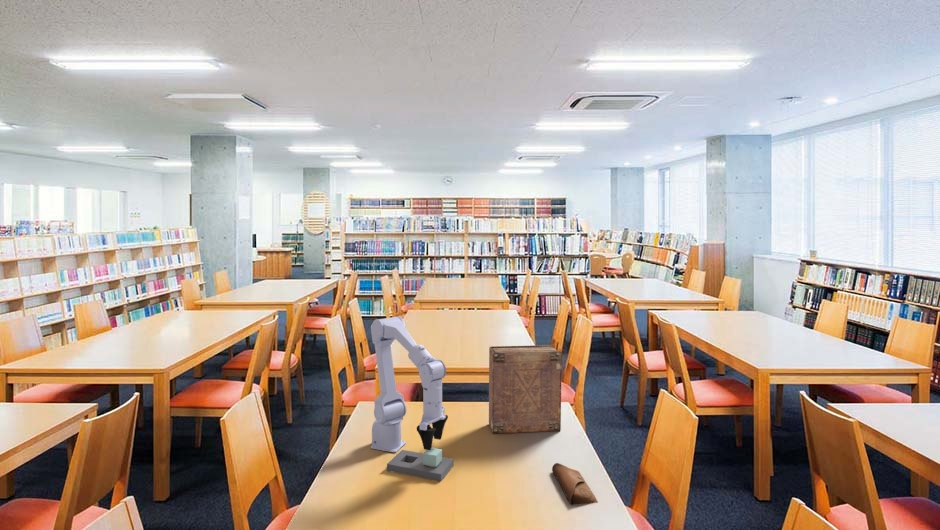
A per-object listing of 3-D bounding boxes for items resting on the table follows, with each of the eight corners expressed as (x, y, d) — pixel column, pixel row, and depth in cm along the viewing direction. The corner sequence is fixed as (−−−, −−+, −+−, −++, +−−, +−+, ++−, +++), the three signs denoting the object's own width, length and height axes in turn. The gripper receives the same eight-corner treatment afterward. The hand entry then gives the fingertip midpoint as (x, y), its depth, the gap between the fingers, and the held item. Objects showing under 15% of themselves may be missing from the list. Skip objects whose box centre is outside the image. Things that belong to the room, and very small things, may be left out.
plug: (423, 472, 149) (423, 453, 148) (428, 465, 153) (429, 447, 152) (436, 474, 147) (436, 455, 147) (441, 468, 151) (442, 449, 151)
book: (553, 421, 188) (555, 344, 186) (560, 431, 179) (562, 351, 177) (488, 424, 185) (489, 346, 183) (492, 434, 176) (493, 352, 174)
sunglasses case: (600, 503, 133) (589, 483, 132) (579, 517, 133) (567, 498, 132) (577, 470, 151) (567, 452, 150) (558, 482, 150) (548, 465, 149)
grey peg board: (387, 470, 150) (387, 463, 150) (402, 456, 159) (402, 449, 159) (441, 481, 144) (441, 474, 144) (453, 465, 153) (453, 459, 153)
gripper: (435, 410, 140) (435, 456, 141) (453, 394, 154) (453, 436, 155) (412, 407, 142) (413, 452, 144) (433, 391, 156) (433, 433, 157)
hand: (432, 443), depth 149 cm, fingers open, 7 cm apart
